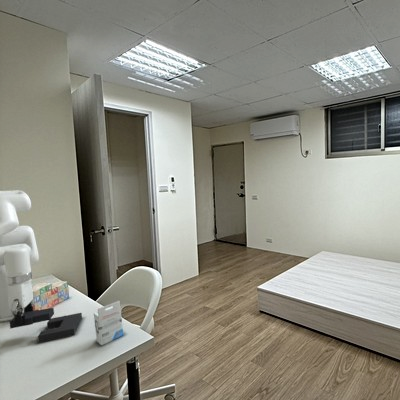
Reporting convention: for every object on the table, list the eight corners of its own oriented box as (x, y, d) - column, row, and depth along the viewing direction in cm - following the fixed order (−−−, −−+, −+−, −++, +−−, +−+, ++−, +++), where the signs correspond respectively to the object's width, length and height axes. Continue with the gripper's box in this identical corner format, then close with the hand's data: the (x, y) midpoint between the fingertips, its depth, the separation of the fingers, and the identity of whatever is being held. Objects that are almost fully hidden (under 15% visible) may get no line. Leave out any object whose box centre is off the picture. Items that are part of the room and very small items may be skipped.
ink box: (118, 330, 111) (115, 297, 109) (123, 335, 107) (120, 300, 106) (95, 341, 104) (92, 305, 103) (100, 346, 101) (97, 309, 99)
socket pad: (38, 342, 104) (37, 336, 104) (50, 324, 117) (49, 318, 117) (74, 334, 109) (73, 328, 109) (82, 318, 122) (81, 312, 121)
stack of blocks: (59, 296, 145) (58, 275, 143) (69, 298, 143) (67, 276, 142) (17, 318, 124) (15, 292, 122) (28, 319, 123) (26, 294, 121)
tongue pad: (10, 328, 103) (9, 321, 103) (18, 319, 110) (17, 313, 109) (49, 320, 108) (48, 314, 108) (54, 312, 114) (54, 306, 114)
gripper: (17, 273, 113) (22, 312, 114) (-4, 288, 97) (2, 334, 98) (39, 269, 116) (44, 308, 117) (21, 284, 99) (27, 329, 101)
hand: (25, 320), depth 108 cm, fingers closed on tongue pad, 7 cm apart
